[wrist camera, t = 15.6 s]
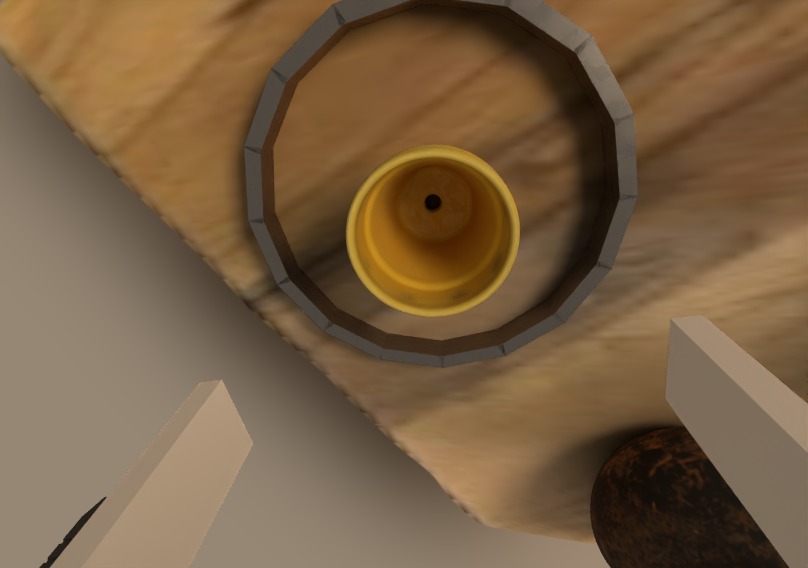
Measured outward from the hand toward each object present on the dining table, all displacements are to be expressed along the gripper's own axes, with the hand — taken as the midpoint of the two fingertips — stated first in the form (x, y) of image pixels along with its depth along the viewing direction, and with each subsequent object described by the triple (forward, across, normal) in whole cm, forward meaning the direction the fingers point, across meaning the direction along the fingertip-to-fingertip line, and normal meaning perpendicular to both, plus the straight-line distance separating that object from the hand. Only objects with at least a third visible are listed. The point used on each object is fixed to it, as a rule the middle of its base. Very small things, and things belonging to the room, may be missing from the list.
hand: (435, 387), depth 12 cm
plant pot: (+23, 0, 0) cm, 23 cm away
